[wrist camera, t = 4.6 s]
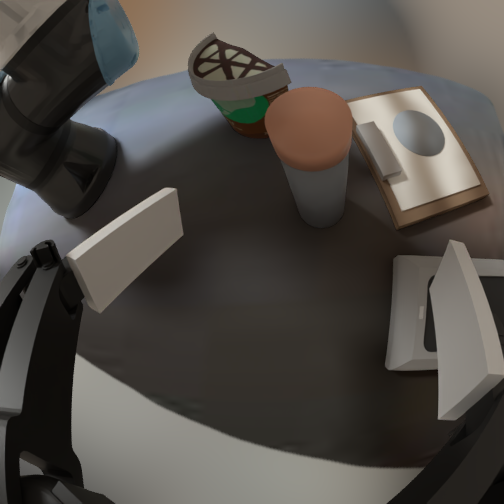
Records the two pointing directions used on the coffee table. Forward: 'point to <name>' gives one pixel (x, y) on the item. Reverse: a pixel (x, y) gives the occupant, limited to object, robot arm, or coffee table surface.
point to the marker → (313, 150)
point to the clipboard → (414, 155)
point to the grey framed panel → (428, 308)
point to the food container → (237, 83)
